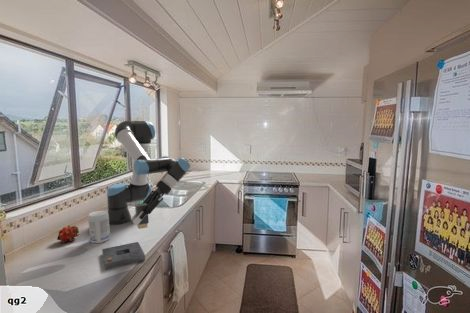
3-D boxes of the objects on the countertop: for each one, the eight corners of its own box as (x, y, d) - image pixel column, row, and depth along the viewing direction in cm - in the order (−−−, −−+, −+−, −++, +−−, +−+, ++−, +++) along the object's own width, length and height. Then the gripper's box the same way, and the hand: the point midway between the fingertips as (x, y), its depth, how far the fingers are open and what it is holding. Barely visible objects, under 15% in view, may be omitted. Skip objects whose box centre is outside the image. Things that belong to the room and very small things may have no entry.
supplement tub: (110, 235, 146) (108, 209, 144) (110, 241, 137) (108, 214, 136) (90, 238, 141) (88, 211, 140) (89, 245, 133) (87, 217, 131)
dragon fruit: (81, 238, 144) (60, 251, 134) (70, 229, 146) (49, 240, 135) (85, 228, 141) (65, 240, 130) (74, 218, 142) (53, 229, 131)
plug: (136, 226, 129) (135, 204, 127) (146, 224, 131) (145, 202, 130) (138, 229, 125) (136, 206, 124) (148, 227, 128) (147, 204, 127)
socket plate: (102, 254, 123) (102, 247, 123) (138, 246, 132) (137, 240, 131) (105, 269, 110) (105, 262, 109) (145, 260, 118) (144, 253, 118)
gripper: (177, 192, 127) (144, 232, 120) (166, 185, 142) (136, 221, 135) (166, 182, 124) (131, 223, 117) (156, 177, 138) (124, 213, 131)
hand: (133, 222), depth 126 cm, fingers closed on plug, 4 cm apart
